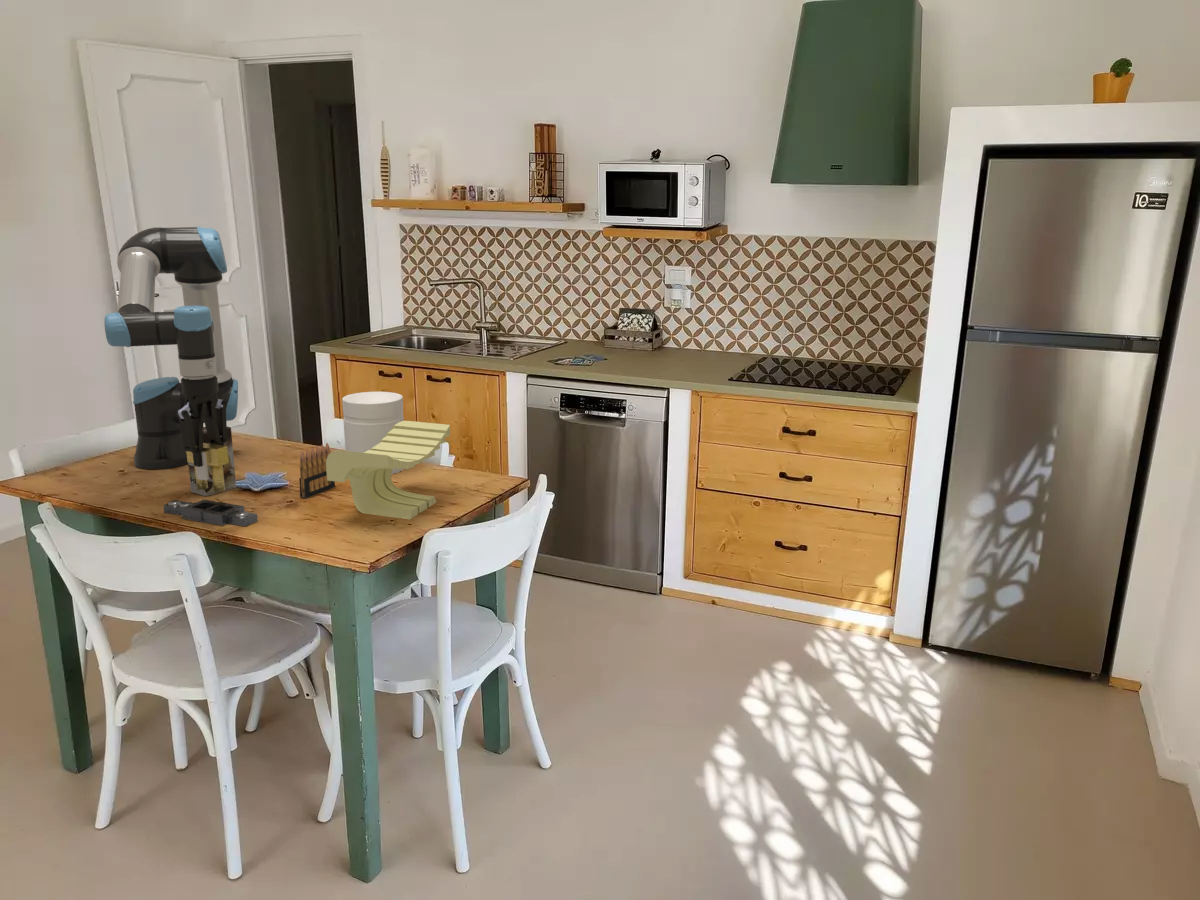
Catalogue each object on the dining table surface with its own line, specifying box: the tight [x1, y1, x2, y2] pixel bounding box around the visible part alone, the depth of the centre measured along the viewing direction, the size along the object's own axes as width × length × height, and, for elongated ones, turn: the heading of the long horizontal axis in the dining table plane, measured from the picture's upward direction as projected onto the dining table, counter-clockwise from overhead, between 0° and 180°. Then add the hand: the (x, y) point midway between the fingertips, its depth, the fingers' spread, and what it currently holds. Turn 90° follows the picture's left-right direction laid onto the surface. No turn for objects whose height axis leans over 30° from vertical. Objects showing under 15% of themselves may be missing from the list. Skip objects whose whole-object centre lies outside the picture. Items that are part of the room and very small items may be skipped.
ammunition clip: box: [298, 442, 336, 499], centre depth 228 cm, size 11×2×12 cm, turn 154°
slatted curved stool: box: [326, 420, 451, 520], centre depth 217 cm, size 30×16×18 cm, turn 162°
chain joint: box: [162, 499, 259, 527], centre depth 210 cm, size 24×7×2 cm, turn 69°
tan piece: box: [186, 443, 229, 493], centre depth 207 cm, size 9×3×10 cm, turn 69°
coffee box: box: [187, 426, 237, 497], centre depth 228 cm, size 9×6×16 cm
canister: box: [341, 391, 405, 475], centre depth 248 cm, size 16×16×20 cm
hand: (209, 476), depth 207 cm, fingers closed on tan piece, 3 cm apart
